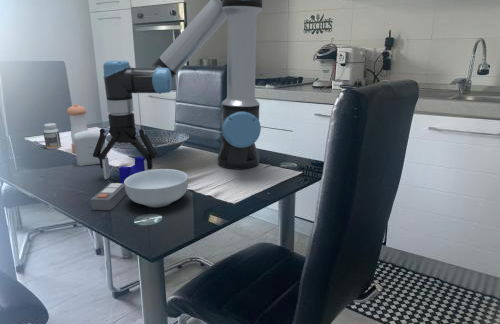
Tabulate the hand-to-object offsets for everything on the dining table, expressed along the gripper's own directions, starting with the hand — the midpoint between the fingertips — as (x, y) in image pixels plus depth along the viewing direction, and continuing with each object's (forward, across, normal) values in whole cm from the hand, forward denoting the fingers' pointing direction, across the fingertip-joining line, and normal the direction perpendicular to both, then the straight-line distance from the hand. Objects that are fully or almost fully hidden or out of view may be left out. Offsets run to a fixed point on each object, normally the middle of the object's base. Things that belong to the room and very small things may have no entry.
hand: (127, 178), depth 123 cm
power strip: (0, -2, +17) cm, 17 cm away
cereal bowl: (0, -15, +17) cm, 23 cm away
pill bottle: (+1, +46, -36) cm, 58 cm away
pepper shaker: (0, +31, -31) cm, 44 cm away
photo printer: (0, +19, -15) cm, 24 cm away
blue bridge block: (+1, -2, 0) cm, 2 cm away
